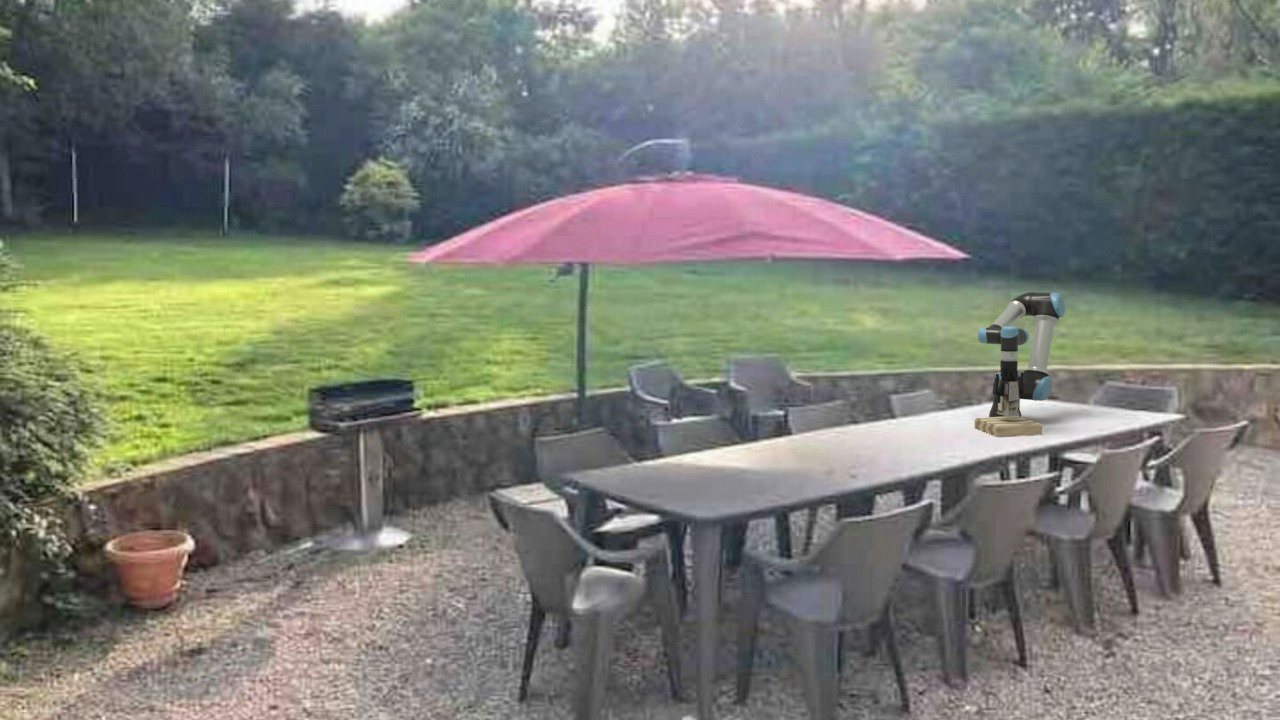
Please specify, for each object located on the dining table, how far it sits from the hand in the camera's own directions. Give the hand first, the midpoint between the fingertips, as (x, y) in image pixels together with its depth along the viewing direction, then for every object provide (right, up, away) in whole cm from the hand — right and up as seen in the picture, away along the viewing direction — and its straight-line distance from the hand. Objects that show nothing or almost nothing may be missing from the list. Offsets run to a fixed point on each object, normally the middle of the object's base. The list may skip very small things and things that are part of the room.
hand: (1008, 409), depth 510 cm
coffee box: (0, -3, 0) cm, 3 cm away
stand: (0, -10, +1) cm, 10 cm away
